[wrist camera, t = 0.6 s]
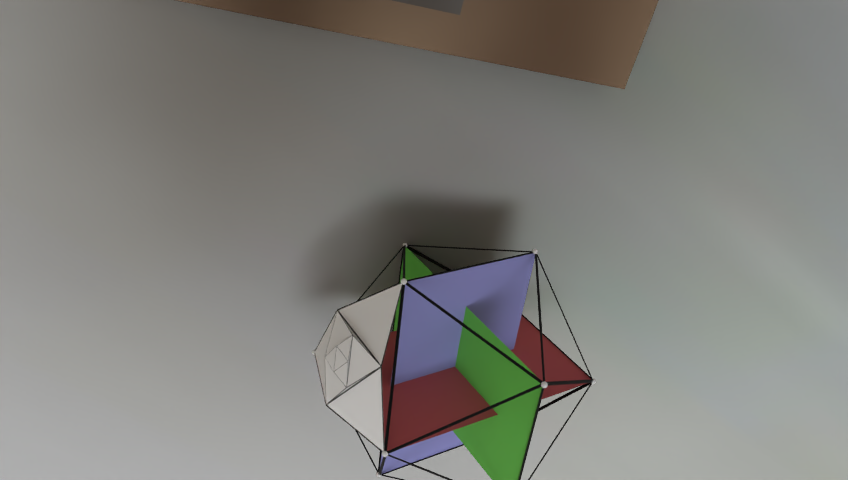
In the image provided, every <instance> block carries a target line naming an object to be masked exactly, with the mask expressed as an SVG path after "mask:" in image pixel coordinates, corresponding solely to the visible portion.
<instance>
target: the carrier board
mask: <svg viewBox="0 0 848 480" xmlns="http://www.w3.org/2000/svg"><path fill="white" fill-rule="evenodd" d="M176 1H181V2H186V3H191V4H196V5H202V6H207V7H212V8H217V9H222V10H227V11H232V12H237V13H242V14H247V15H252V16H257V17H262V18H267V19H272V20H277V21H282V22H288V23H293V24H298V25H303V26H308V27H313V28H318V29H323V30H328V31H333V32H338V33H343V34H348V35H353V36H358V37H363V38H368V39H374V40H379V41H384V42H389V43H394V44H399V45H404V46H409V47H414V48H419V49H424V50H429V51H434V52H439V53H444V54H449V55H454V56H460V57H465V58H470V59H475V60H480V61H485V62H490V63H495V64H500V65H505V66H510V67H515V68H520V69H525V70H530V71H535V72H540V73H546V74H551V75H556V76H561V77H566V78H571V79H576V80H581V81H586V82H591V83H596V84H601V85H606V86H611V87H616V88H621V89H625V86H626V84H627V81H628V78H629V76H630V73H631V71H632V68H633V65H634V63H635V60H636V58H637V55H638V53H639V50H640V47H641V45H642V42H643V40H644V37H645V34H646V32H647V29H648V27H649V24H650V21H651V19H652V16H653V14H654V11H655V8H656V6H657V3H658V1H659V0H176Z"/></svg>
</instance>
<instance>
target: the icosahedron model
mask: <svg viewBox="0 0 848 480" xmlns="http://www.w3.org/2000/svg"><path fill="white" fill-rule="evenodd" d="M409 246H418V245H408V244H407V243H403V247H402V248H403V251H402V259H401V267H400V275H399V283H398V284H396V285H394V286H391V287H389V288H387V289H384V290H382V291H380V292H377V293H375V294H373V295H370V296H368V297H366V298H363V299H361V300H360V298H361V297H362V296H363V295H364V294H365V292H366V291H367V290H368V289H369V288H370V286H371V285H372V284H373V283H374V282H375V281H376V279H377V278H378V277H379V276H380V275H381V273H382V272H383V271H384V270H385V269H386V267H387V266H388V265H389V264H390V263H391V261H392V260H393V259H394V258H395V257H396V256H397V254H398V253H399V252H400V251H401V250H402V248H401V249H400V251H399V252H398V253H397V254H396V255H395V256H394V258H393V259H392V260H391V261H390V262H389V264H388V265H387V266H386V267H385V268H384V270H383V271H382V272H381V273H380V274H379V275H378V277H377V278H376V279H375V280H374V281H373V283H372V284H371V285H370V286H369V287H368V289H367V290H366V291H365V292H364V293H363V295H362V296H361V297H360V298H359V299H358V300H357V301H356V302H354V303H352V304H349V305H347V306H345V307H342V308H340V309H338V310H337V311H336V313H335V315H334V317H333V318H332V320H331V322H330V324H329V326H328V328H327V329H326V331H325V333H324V335H323V337H322V339H321V340H320V342H319V344H318V346H317V348H316V350H313V351H312V354H313V355H315V357H316V362H317V367H318V371H319V376H320V380H321V385H322V390H323V394H324V399H325V403H326V406H327V407H328V408H330V409H331V410H332V411H333V412H334V413H336V414H337V415H338V416H339V417H341V418H342V419H343V420H344V421H345V422H347V423H348V424H349V425H350V426H351V427H353V428H354V429H355V430H356V432H357V434H358V432H359V433H360V434H361V435H362V436H363V437H365V438H366V439H367V440H368V441H369V442H371V443H372V444H373V445H374V446H376V447H377V448H378V449H379V450H380V457H379V467H378V470H377V468H376V466H375V464H374V462H373V460H372V458H371V457H370V455H369V453H368V451H367V449H366V447H365V445H364V443H363V441H362V439H361V437H360V436H359V434H358V436H359V438H360V440H361V442H362V444H363V446H364V448H365V449H366V451H367V453H368V455H369V457H370V459H371V461H372V463H373V465H374V467H375V469H376V470H377V473H376V476H377V477H381V476H386V475H383V474H386V473H389V472H391V471H394V470H397V469H400V468H402V467H405V466H408V465H412V466H415V467H417V468H420V469H422V470H425V471H427V472H430V473H432V474H435V475H437V476H440V477H442V478H445V479H447V480H452V479H449V478H447V477H444V476H442V475H439V474H437V473H434V472H432V471H429V470H427V469H424V468H422V467H419V466H417V465H414V464H413V463H416V462H419V461H421V460H424V459H427V458H430V457H432V456H435V455H438V454H441V453H443V452H446V451H449V450H452V449H454V448H457V447H460V446H463V445H465V447H466V448H467V449H468V450H469V452H470V453H471V454H472V455H473V457H474V458H475V459H476V460H477V462H478V463H479V464H480V465H481V466H482V468H483V469H484V470H485V471H486V473H487V474H488V475H489V476H490V478H491V479H492V480H520V479H521V475H522V471H523V468H524V464H525V460H526V456H527V452H528V449H529V445H530V441H531V437H532V433H533V429H534V426H535V422H536V418H537V414H538V411H540V410H542V409H544V408H546V407H548V406H549V405H551V404H553V403H555V402H557V401H559V400H561V399H563V398H565V397H567V396H569V395H571V394H572V393H574V392H576V391H578V390H580V389H582V388H584V387H586V386H588V385H589V387H590V386H591V384H595V383H596V380H595V379H592V377H591V374H590V372H589V370H588V368H587V365H586V363H585V361H584V359H583V356H582V354H581V352H580V350H579V347H578V345H577V343H576V341H575V338H574V336H573V334H572V332H571V329H570V327H569V325H568V323H567V320H566V318H565V316H564V313H563V311H562V309H561V307H560V304H559V302H558V300H557V298H556V295H555V293H554V291H553V289H552V286H551V284H550V282H549V280H548V277H547V275H546V273H545V271H544V268H543V266H542V264H541V262H540V259H539V257H538V255H537V253H538V250H537V249H533V250H532V251H515V250H496V251H515V252H530V253H526V254H521V255H517V256H512V257H508V258H503V259H499V260H494V261H490V262H485V263H481V264H476V265H472V266H467V267H463V268H458V269H454V270H451V269H449V268H447V267H445V266H443V265H442V264H440V263H438V262H436V261H434V260H433V259H431V258H429V257H427V256H425V255H424V254H422V253H420V252H418V251H416V250H415V249H413V248H411V247H409ZM419 247H437V246H419ZM438 248H457V247H438ZM457 249H476V248H457ZM410 250H411V251H412V252H414V253H416V254H418V255H420V256H421V257H423V258H425V259H427V260H429V261H431V262H432V263H434V264H436V265H438V266H440V267H441V268H443V269H445V270H447V271H445V272H441V273H436V274H433V273H432V272H431V271H430V270H429V269H428V268H427V267H426V266H425V265H424V264H423V263H422V262H421V261H420V260H419V259H418V258H417V257H416V256H415V255H414V254H413V253H412V252H411V251H410ZM477 250H495V249H477ZM537 257H538V259H539V262H540V264H541V266H542V269H543V271H544V273H545V275H546V278H547V280H548V282H549V284H550V287H551V289H552V291H553V293H554V296H555V298H556V300H557V302H558V305H559V307H560V309H561V311H562V314H563V316H564V318H565V320H566V323H567V325H568V327H569V329H570V332H571V334H572V336H573V338H574V341H575V343H576V345H577V347H578V350H579V352H580V354H581V356H582V359H583V361H584V363H585V365H586V368H587V370H588V372H589V375H590V376H589V375H588V374H587V373H585V372H584V371H583V370H582V369H581V368H580V367H579V366H578V365H577V364H576V363H575V362H573V361H572V360H571V359H570V358H569V357H568V356H567V355H566V354H565V353H564V352H563V351H562V350H560V349H559V348H558V347H557V346H556V345H555V344H554V343H553V342H552V341H551V340H550V339H548V338H547V337H546V336H545V335H544V334H543V333H542V323H541V308H540V292H539V277H538V262H537ZM534 258H535V263H536V279H537V295H538V311H539V327H540V330H539V329H538V328H536V327H535V326H534V325H533V324H532V323H531V322H530V321H529V320H528V319H527V318H526V317H524V316H523V315H522V311H523V307H524V302H525V298H526V294H527V289H528V285H529V280H530V276H531V272H532V267H533V263H534ZM393 321H394V323H393ZM392 325H393V331H392V332H391V329H392ZM581 385H582V386H581ZM578 386H580V387H578ZM575 387H578V388H576V389H574V390H573V391H571V392H569V393H567V394H565V395H563V396H561V397H559V398H557V399H555V400H553V401H552V402H550V403H548V404H546V405H544V406H542V407H540V408H539V406H540V403H541V399H544V398H547V397H550V396H553V395H555V394H558V393H561V392H564V391H567V390H570V389H573V388H575ZM589 387H588V388H587V390H588V389H589ZM587 390H586V392H587ZM586 392H585V393H584V395H585V394H586ZM584 395H583V396H582V398H583V397H584ZM582 398H581V399H580V401H581V400H582ZM580 401H579V402H578V404H579V403H580ZM578 404H577V405H576V407H577V406H578ZM576 407H575V408H574V410H575V409H576ZM574 410H573V412H574ZM573 412H572V413H571V415H572V414H573ZM571 415H570V416H569V418H570V417H571ZM569 418H568V419H567V421H568V420H569ZM567 421H566V422H565V424H566V423H567ZM565 424H564V425H563V427H564V426H565ZM563 427H562V428H561V430H562V429H563ZM561 430H560V432H561ZM560 432H559V433H558V435H559V434H560ZM558 435H557V436H556V438H557V437H558ZM556 438H555V439H554V441H555V440H556ZM554 441H553V442H552V444H553V443H554ZM552 444H551V445H550V447H551V446H552ZM550 447H549V448H548V450H547V452H548V451H549V449H550ZM547 452H546V453H545V455H546V454H547ZM545 455H544V456H543V458H544V457H545ZM543 458H542V459H541V461H542V460H543ZM541 461H540V462H539V464H540V463H541ZM539 464H538V465H537V467H538V466H539ZM537 467H536V468H535V470H534V472H535V471H536V469H537ZM534 472H533V473H532V475H533V474H534ZM532 475H531V476H530V478H531V477H532ZM386 477H390V476H386ZM390 478H394V479H399V478H395V477H390ZM530 478H529V479H528V480H530ZM399 480H404V479H399Z"/></svg>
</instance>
